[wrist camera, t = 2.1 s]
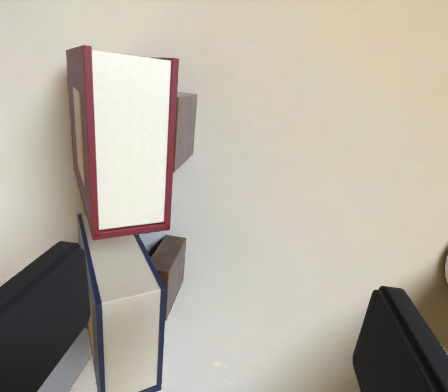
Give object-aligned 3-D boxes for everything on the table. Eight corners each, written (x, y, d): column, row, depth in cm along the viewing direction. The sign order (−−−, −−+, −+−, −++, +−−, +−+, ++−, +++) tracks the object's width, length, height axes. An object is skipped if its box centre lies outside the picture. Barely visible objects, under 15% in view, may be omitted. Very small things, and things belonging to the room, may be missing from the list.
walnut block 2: (197, 94, 30) (178, 97, 23) (192, 154, 32) (174, 172, 25) (172, 91, 30) (147, 93, 24) (169, 150, 32) (145, 168, 26)
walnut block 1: (186, 238, 35) (168, 272, 29) (183, 280, 38) (166, 321, 31) (165, 234, 36) (143, 267, 29) (163, 277, 38) (142, 316, 31)
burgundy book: (179, 58, 17) (81, 44, 15) (170, 230, 21) (91, 241, 19) (124, 57, 29) (65, 49, 27) (124, 167, 33) (73, 169, 31)
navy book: (166, 288, 23) (94, 305, 21) (161, 389, 27) (100, 413, 25) (125, 209, 35) (76, 213, 33) (125, 287, 39) (82, 296, 37)
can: (86, 363, 45) (27, 455, 34) (41, 337, 44) (-34, 423, 33) (106, 333, 42) (49, 422, 31) (59, 305, 42) (-17, 386, 31)
